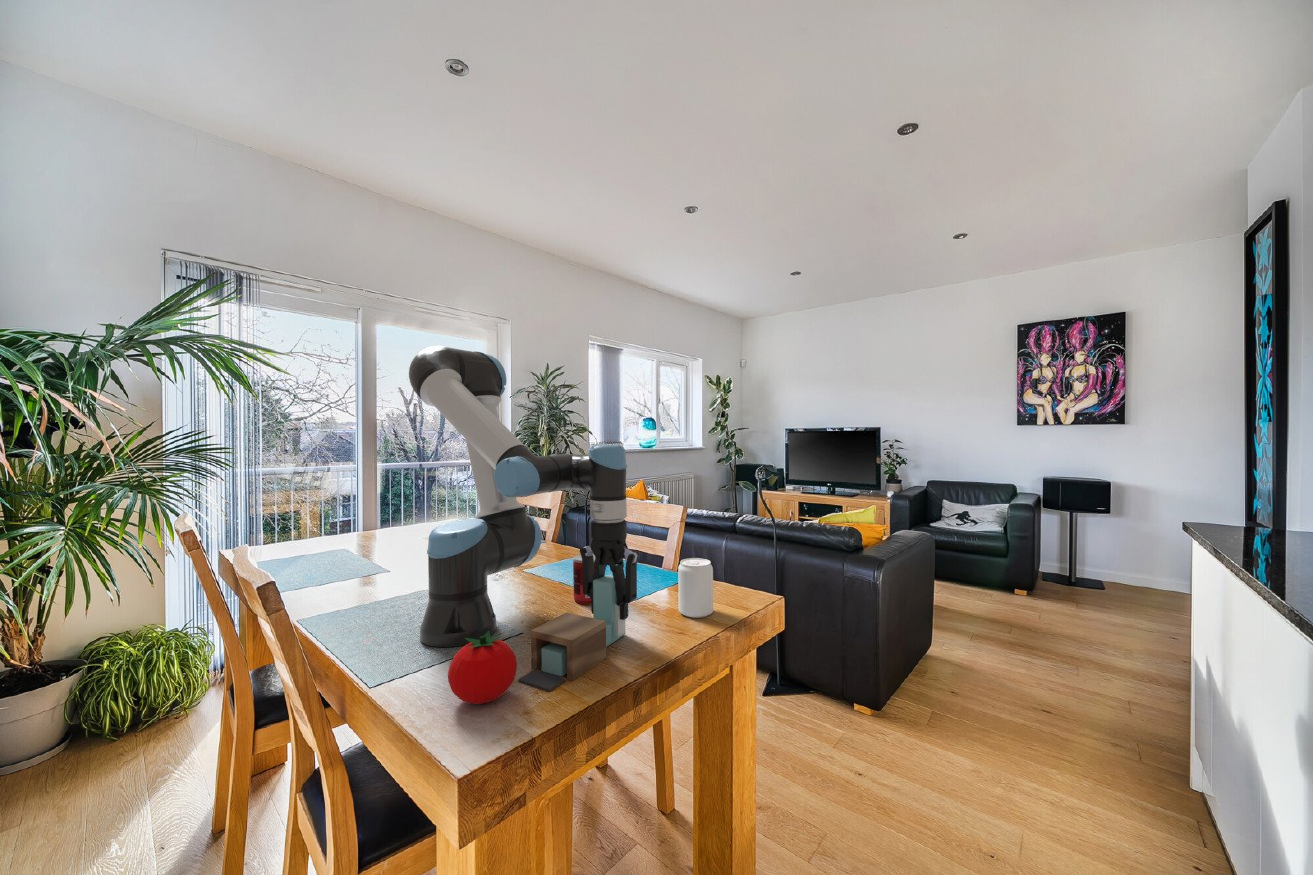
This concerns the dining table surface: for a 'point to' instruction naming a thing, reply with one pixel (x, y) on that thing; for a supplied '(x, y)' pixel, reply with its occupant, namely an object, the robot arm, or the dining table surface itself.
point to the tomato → (482, 670)
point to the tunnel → (571, 642)
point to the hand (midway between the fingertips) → (609, 631)
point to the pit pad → (541, 680)
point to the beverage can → (695, 587)
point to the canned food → (579, 581)
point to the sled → (603, 610)
